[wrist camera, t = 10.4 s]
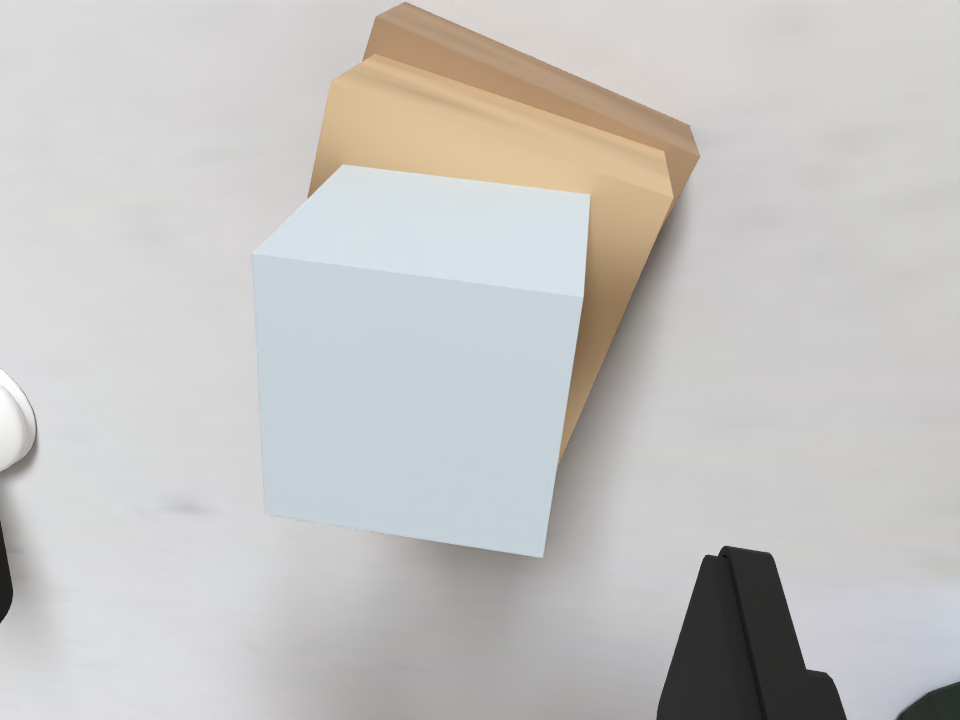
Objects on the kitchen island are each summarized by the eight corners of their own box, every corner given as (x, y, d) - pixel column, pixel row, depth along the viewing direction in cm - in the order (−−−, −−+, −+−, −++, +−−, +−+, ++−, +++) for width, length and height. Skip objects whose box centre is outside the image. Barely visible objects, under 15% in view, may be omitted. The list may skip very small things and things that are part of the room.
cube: (558, 408, 19) (542, 558, 15) (342, 378, 20) (264, 514, 15) (590, 194, 17) (583, 296, 12) (343, 164, 17) (251, 253, 13)
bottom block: (565, 361, 27) (559, 422, 23) (324, 263, 26) (286, 311, 23) (688, 122, 23) (700, 156, 20) (408, 0, 22) (375, 16, 19)
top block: (563, 395, 23) (555, 471, 20) (316, 314, 23) (271, 378, 20) (664, 150, 20) (673, 197, 17) (375, 53, 20) (330, 81, 16)
